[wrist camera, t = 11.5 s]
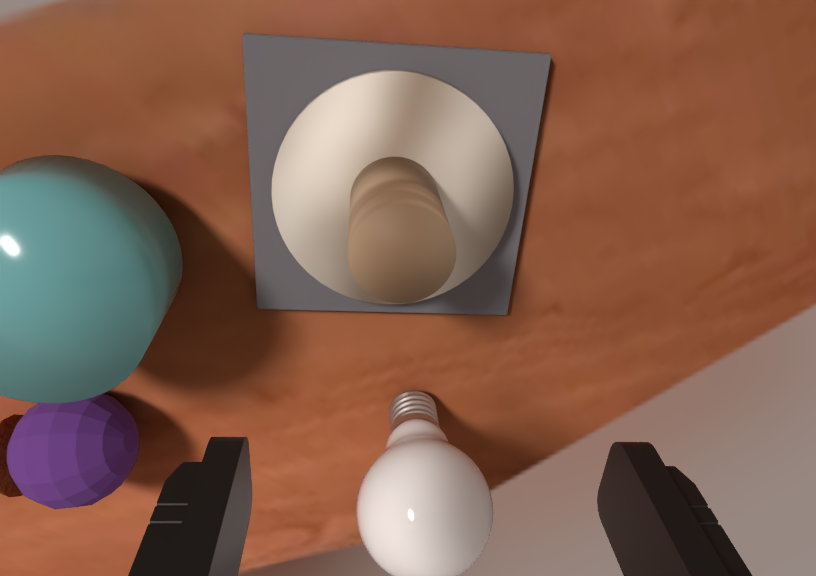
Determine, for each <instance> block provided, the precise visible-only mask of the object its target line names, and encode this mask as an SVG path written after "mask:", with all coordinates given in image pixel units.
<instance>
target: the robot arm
mask: <svg viewBox="0 0 816 576" xmlns="http://www.w3.org/2000/svg"><path fill="white" fill-rule="evenodd" d="M597 503H598V512H599V516H600V519H601V522H602V525H603V527H604V529H605V532H606V534H607V537H608V539H609V541H610V544H611V546H612V548H613V551H614V553H615V556H616V558H617V561H618V563H619V565H620V568H621V570H622V573H623V575H624V576H752V575H751V573H750V571H749V570H748V568H747V567H746V565H745V563H744V562H743V560H742V559H741V557H740V555H739V554H738V552H737V551H736V549H735V547H734V546H733V544H732V543H731V541H730V539H729V538H728V536H727V535H726V533H725V531H724V530H723V528H722V527H721V525H718V520H717V519H716V517H715V515H714V514H713V512H712V511H711V509H710V508H708V507H707V505H708V504H707V503H706V501H705V500H704V498H703V497H702V495H701V493H700V491H699V490H698V488H697V487H696V485H695V484H694V483H693V482H692V481H691V480H690V479H689V478H687V477H686V476H685V475H684V474H683V473H682V472H681V471H679V470H678V469H677V468H676V467H674V466H665V465H664V463H663V461H662V460H661V458H660V456H659V455H658V453H657V451H656V449H655V448H654V446H653V445H652V444H650V443H648V442H615V443H613V444H612V446H611V449H610V452H609V455H608V459H607V462H606V466H605V469H604V473H603V476H602V479H601V483H600V486H599V490H598V497H597ZM251 506H252V481H251V468H250V455H249V443H248V438H247V437H211V438H210V440H209V443H208V445H207V448H206V451H205V454H204V457H203V460H202V462H183V463H182V464H181V465H180V466H179V467H178V468H177V469H176V470H175V471H174V472H173V473H172V474H171V475H170V476H169V478H168V479H167V480H166V481H165V483H164V486H163V488H162V491H161V494H160V496H159V499H158V501H157V507H155V509H154V511H153V514H152V516H151V519H150V524H149V525H148V527H147V529H146V532H145V534H144V537H143V539H142V542H141V544H140V547H139V550H138V552H137V555H136V557H135V560H134V562H133V565H132V567H131V570H130V572H129V575H128V576H238V572H239V567H240V562H241V558H242V553H243V548H244V544H245V539H246V534H247V530H248V525H249V520H250V515H251Z"/></svg>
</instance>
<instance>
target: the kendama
mask: <svg viewBox="0 0 816 576" xmlns="http://www.w3.org/2000/svg"><path fill="white" fill-rule="evenodd" d="M138 451H139V433H138V429H137V424H136V423H135V421H134V419H133V417H132V415H131V414H130V413H129V412H128V411H127V410H126V409H125V407H124V406H123V405H122V404H120V403H119V402H118V401H117V400H116V399H115V398H113V397H111V396H108V395H105V394H100V395H98V396H95V397H92V398H88V399H85V400H81V401H75V402H68V403H38V404H37V405H35V406H33V407H32V408H30V409H29V410H28V411H27V412H26V413H25V415H13V416H10V417H8V418H6V419H4V420H2V421H1V422H0V493H1V494H3V495H6V496H8V497H15V496H22V495H24V496H25V497H27V498H29V499H31V500H33V501H35V502H37V503H40V504H43V505H45V506H48V507H51V508H53V509H62V508H71V507H79V506H86V505H92V504H94V503H96V502H97V501H99V500H101V499H103V498H104V497H106V496H108V495H109V494H111V493H112V492H113V491H115V490H116V489H117V488H118V487H119V486H121V485H122V483H123V482H124V480H125V479H126V477H127V476H128V474H129V473H130V471H131V470H132V468H133V466H134V464H135V462H136V460H137V456H138Z"/></svg>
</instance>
